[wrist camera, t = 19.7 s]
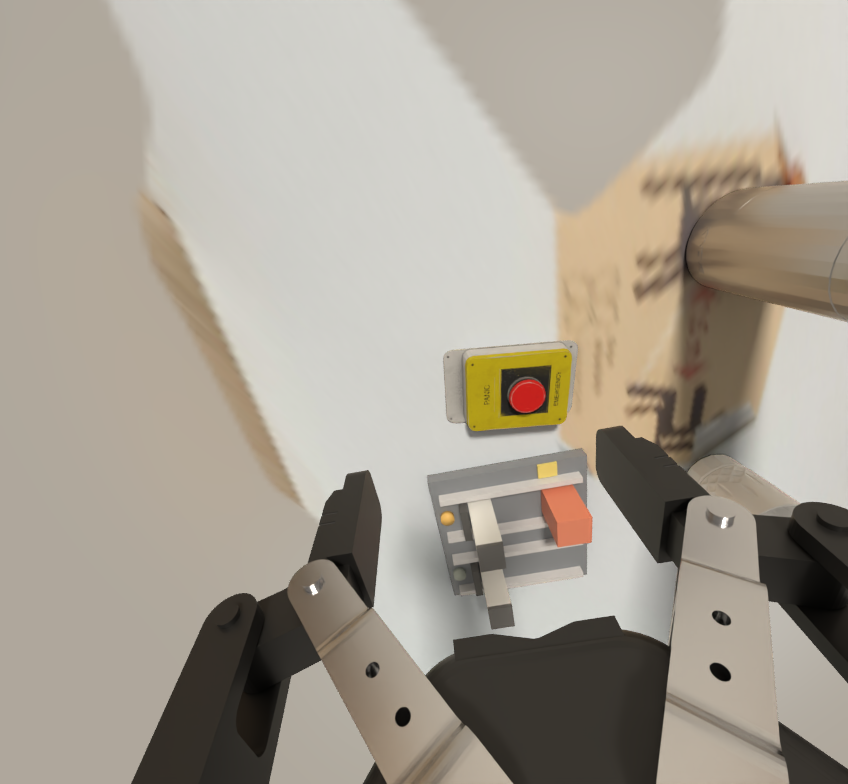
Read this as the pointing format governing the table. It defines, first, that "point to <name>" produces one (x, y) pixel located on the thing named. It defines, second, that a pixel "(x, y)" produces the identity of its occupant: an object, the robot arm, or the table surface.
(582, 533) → the cap
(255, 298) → the table surface
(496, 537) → the off-white rectangular block
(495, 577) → the block
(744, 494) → the white cup
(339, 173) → the table surface
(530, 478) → the board
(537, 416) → the emergency button
